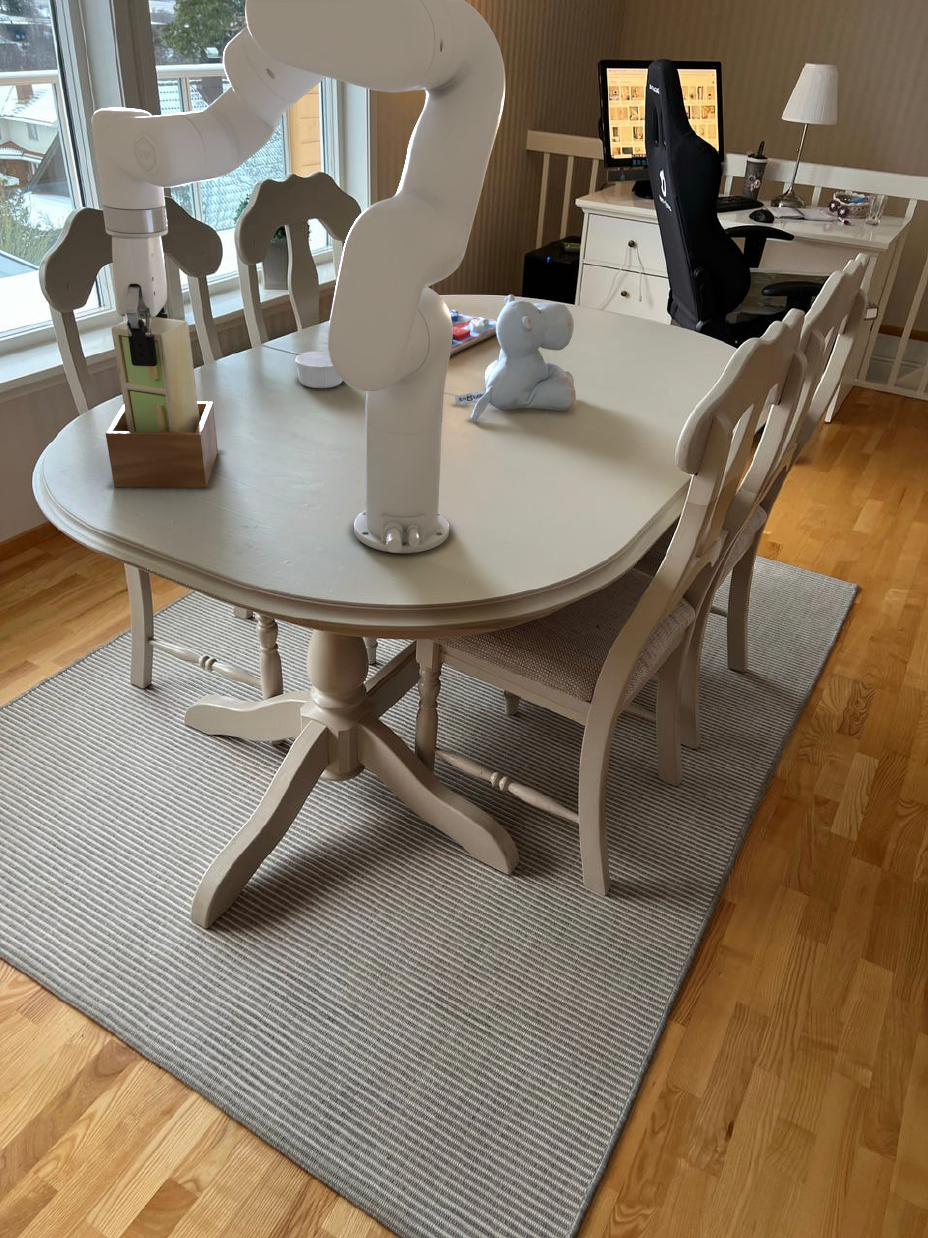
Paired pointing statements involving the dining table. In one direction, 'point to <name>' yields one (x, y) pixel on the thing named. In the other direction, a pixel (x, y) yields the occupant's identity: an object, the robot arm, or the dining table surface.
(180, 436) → the open wooden box
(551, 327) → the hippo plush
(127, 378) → the toy refrigerator
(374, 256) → the robot arm
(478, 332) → the puzzle board
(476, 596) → the dining table surface
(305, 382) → the ramekin
